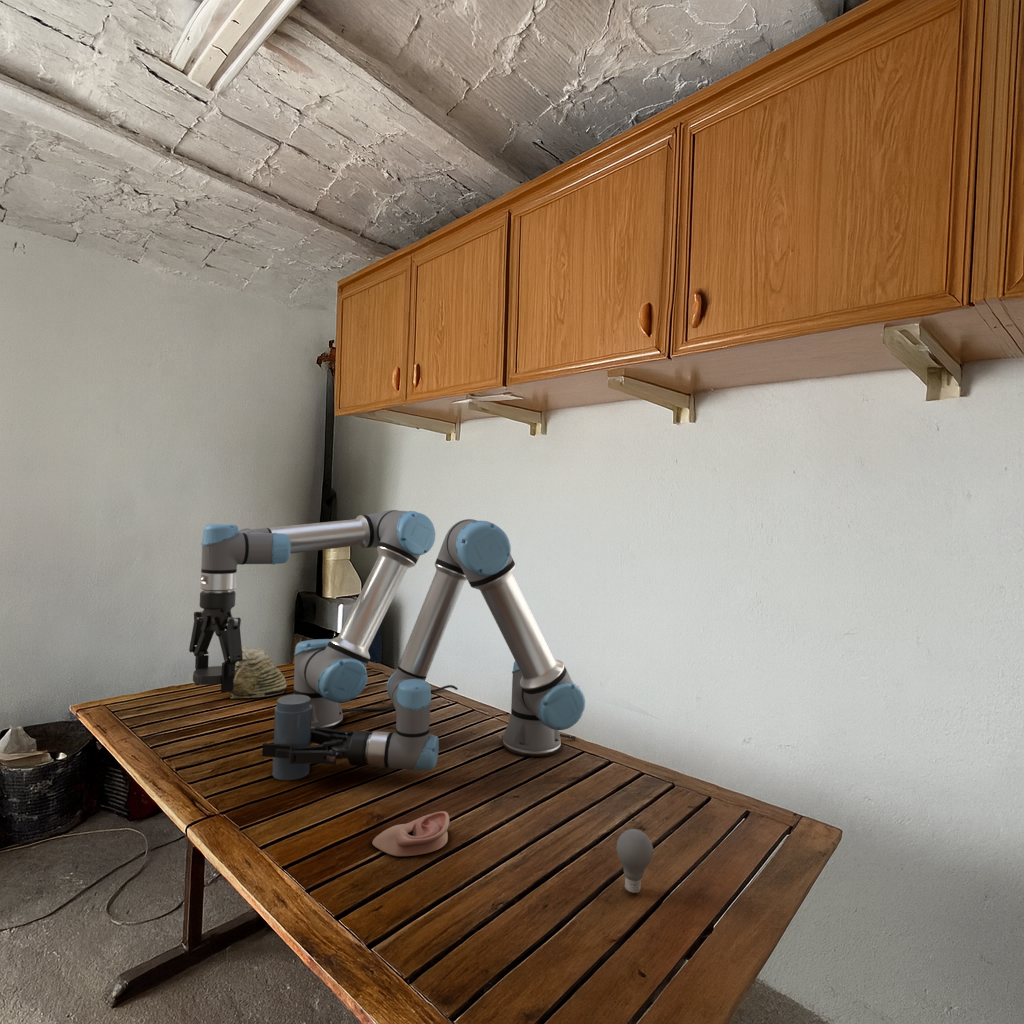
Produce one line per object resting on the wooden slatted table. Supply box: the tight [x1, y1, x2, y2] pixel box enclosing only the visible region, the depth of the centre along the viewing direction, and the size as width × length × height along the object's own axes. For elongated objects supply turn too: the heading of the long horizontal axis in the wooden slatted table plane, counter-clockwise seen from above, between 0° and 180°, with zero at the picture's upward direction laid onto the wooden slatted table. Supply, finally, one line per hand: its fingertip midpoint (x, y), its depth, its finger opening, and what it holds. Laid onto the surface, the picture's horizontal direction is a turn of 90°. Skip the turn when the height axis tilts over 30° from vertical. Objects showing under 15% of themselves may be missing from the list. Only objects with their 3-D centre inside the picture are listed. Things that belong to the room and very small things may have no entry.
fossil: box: [228, 646, 288, 699], centre depth 198 cm, size 9×18×15 cm, turn 132°
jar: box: [271, 694, 312, 781], centre depth 144 cm, size 8×8×17 cm
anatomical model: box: [372, 810, 450, 857], centre depth 118 cm, size 13×4×12 cm
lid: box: [192, 665, 235, 686], centre depth 147 cm, size 9×9×2 cm
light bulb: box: [615, 828, 654, 894], centre depth 106 cm, size 6×6×10 cm
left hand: (213, 687), depth 147 cm, fingers closed on lid, 9 cm apart
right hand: (271, 742), depth 145 cm, fingers closed on jar, 8 cm apart
